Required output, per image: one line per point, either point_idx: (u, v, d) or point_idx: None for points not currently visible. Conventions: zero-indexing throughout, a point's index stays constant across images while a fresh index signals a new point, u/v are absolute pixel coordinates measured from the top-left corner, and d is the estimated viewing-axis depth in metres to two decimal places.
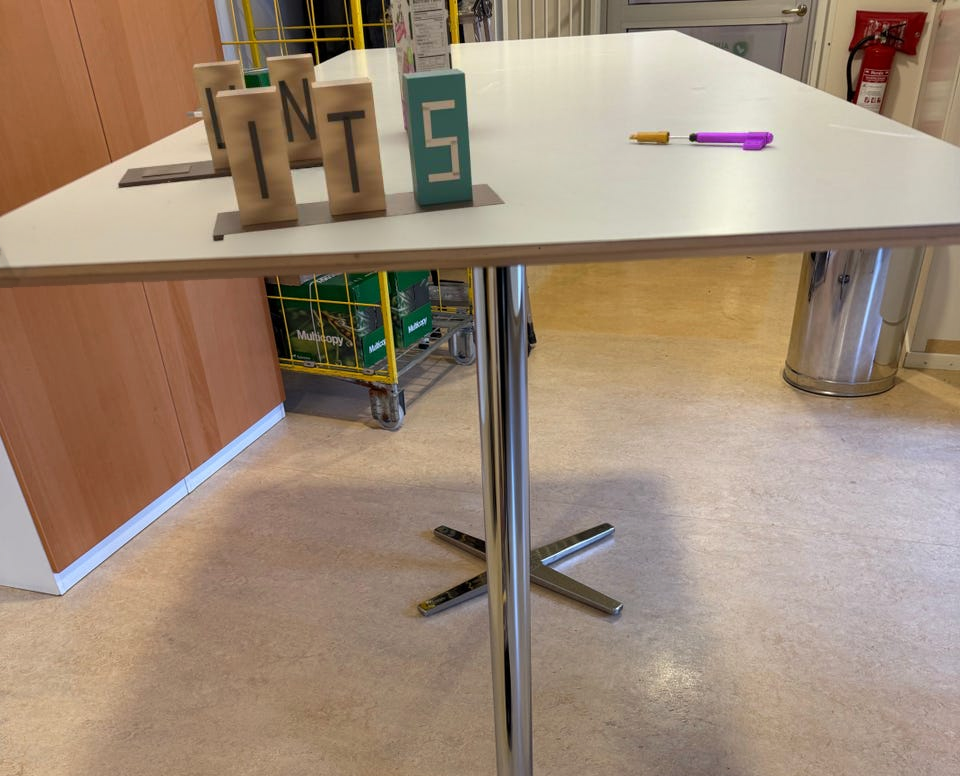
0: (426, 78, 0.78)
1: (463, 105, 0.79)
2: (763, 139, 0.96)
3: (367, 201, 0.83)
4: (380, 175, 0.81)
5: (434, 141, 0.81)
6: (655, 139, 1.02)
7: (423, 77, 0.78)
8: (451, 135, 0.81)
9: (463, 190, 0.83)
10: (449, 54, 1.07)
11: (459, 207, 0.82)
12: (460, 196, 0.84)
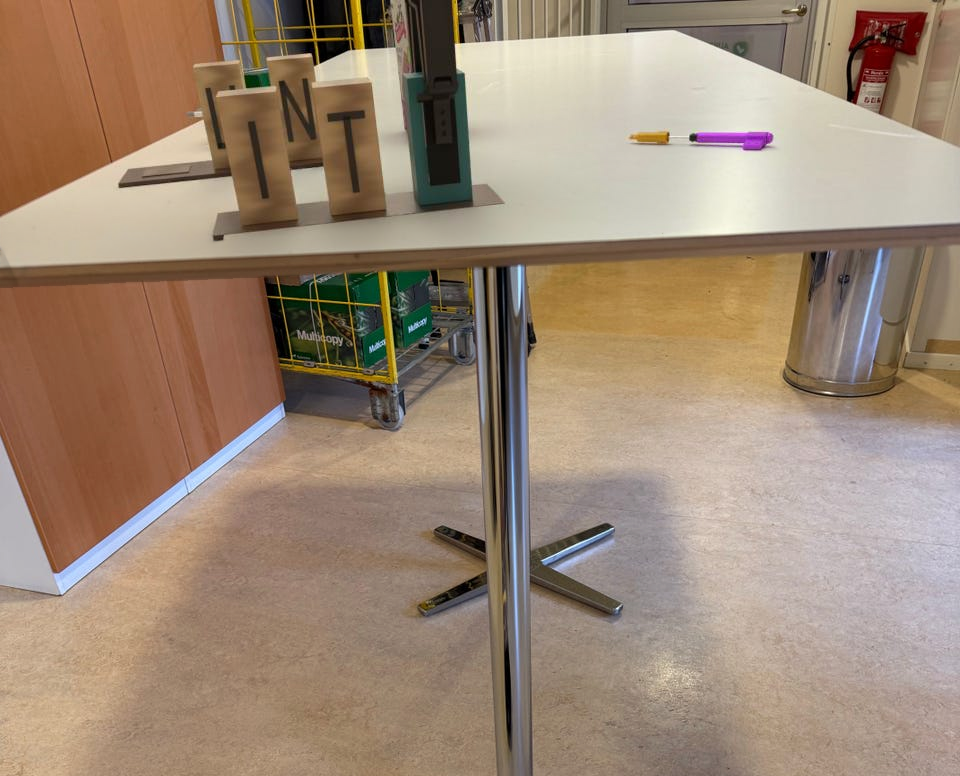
0: None
1: (463, 105, 0.79)
2: (763, 139, 0.96)
3: (367, 201, 0.83)
4: (380, 175, 0.81)
5: None
6: (654, 138, 1.02)
7: None
8: None
9: (463, 190, 0.83)
10: None
11: (459, 207, 0.82)
12: (460, 196, 0.84)
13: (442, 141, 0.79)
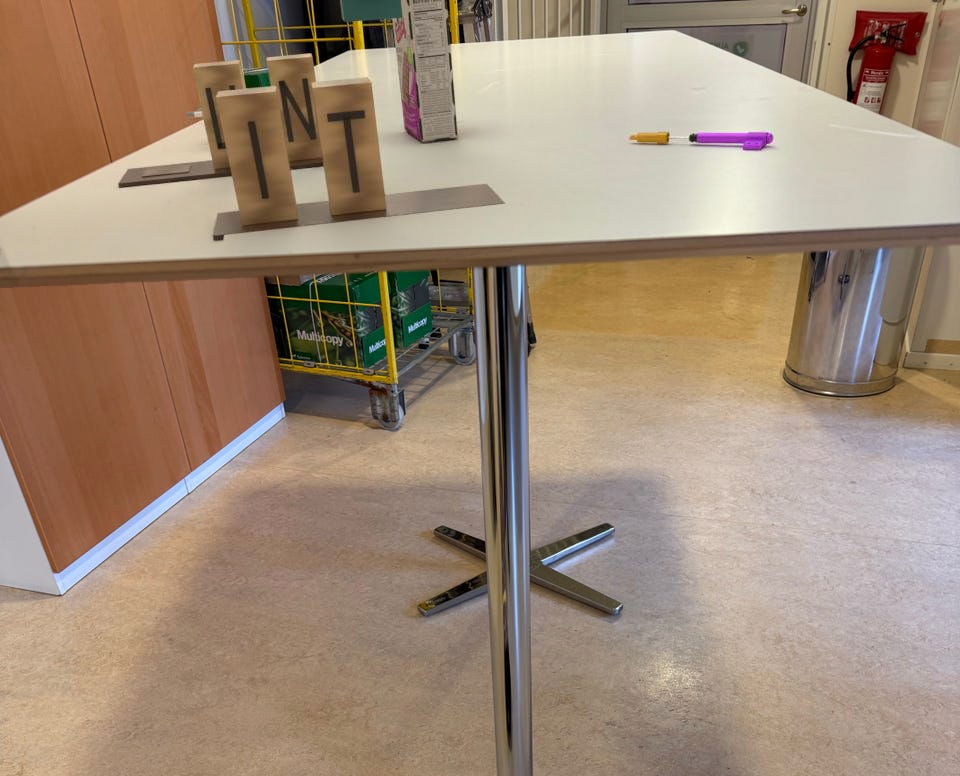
0: None
1: None
2: (763, 139, 0.96)
3: (367, 201, 0.83)
4: (380, 175, 0.81)
5: None
6: (654, 139, 1.02)
7: None
8: None
9: (392, 5, 0.78)
10: (449, 54, 1.07)
11: (459, 207, 0.82)
12: (388, 12, 0.78)
13: None
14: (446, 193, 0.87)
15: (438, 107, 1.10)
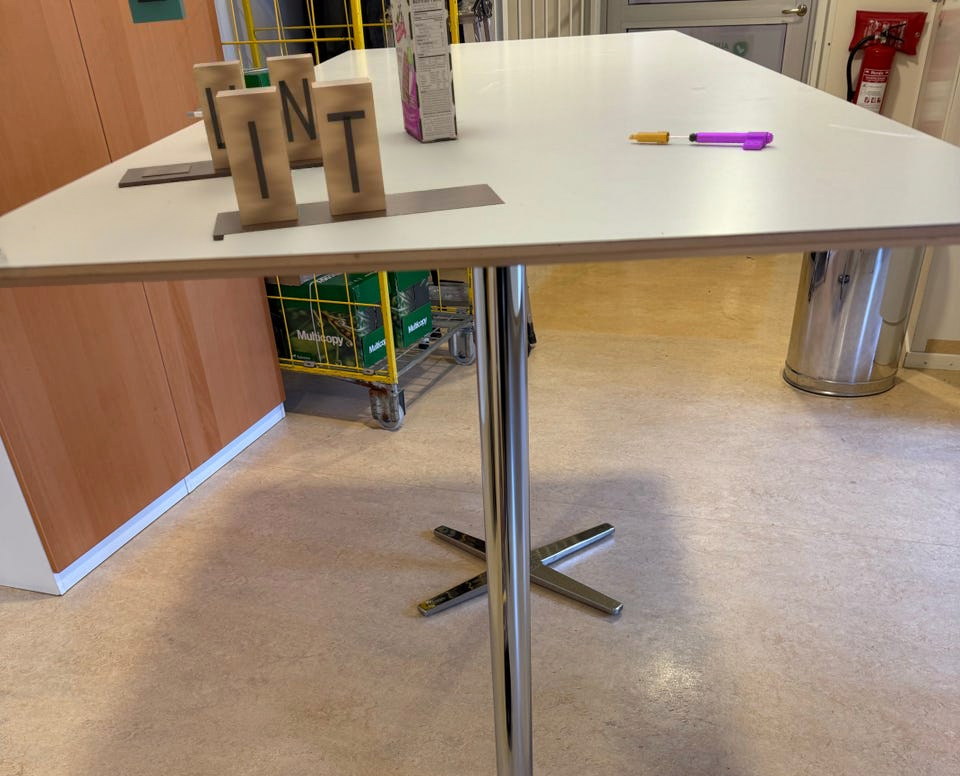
0: None
1: None
2: (763, 139, 0.96)
3: (367, 201, 0.83)
4: (380, 175, 0.81)
5: None
6: (654, 139, 1.02)
7: None
8: None
9: (173, 9, 0.93)
10: (449, 54, 1.07)
11: (459, 207, 0.82)
12: (170, 15, 0.93)
13: None
14: (446, 193, 0.87)
15: (438, 107, 1.10)
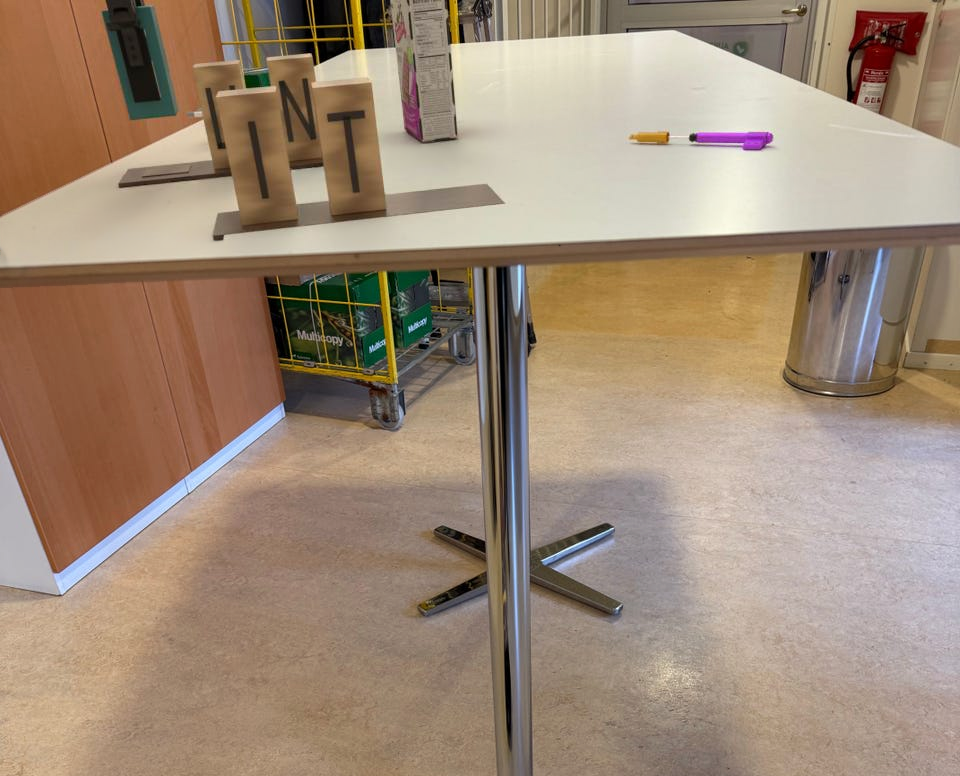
0: None
1: (153, 34, 0.97)
2: (763, 139, 0.96)
3: (367, 201, 0.83)
4: (380, 175, 0.81)
5: None
6: (654, 139, 1.02)
7: None
8: None
9: (166, 107, 1.01)
10: (449, 54, 1.07)
11: (459, 207, 0.82)
12: (164, 112, 1.01)
13: (135, 63, 0.97)
14: (446, 193, 0.87)
15: (438, 107, 1.10)
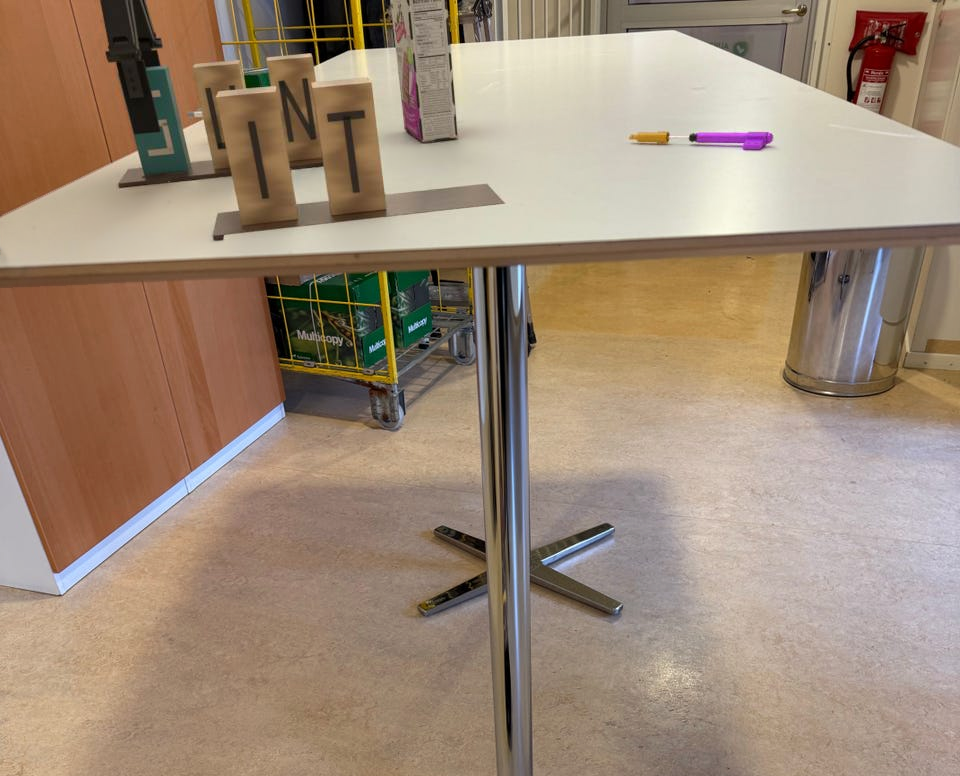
0: None
1: (167, 94, 1.00)
2: (763, 139, 0.96)
3: (367, 201, 0.83)
4: (380, 175, 0.81)
5: None
6: (654, 139, 1.02)
7: None
8: (161, 118, 1.01)
9: (179, 163, 1.04)
10: (449, 54, 1.07)
11: (459, 207, 0.82)
12: (177, 167, 1.04)
13: (134, 95, 0.94)
14: (446, 193, 0.87)
15: (438, 107, 1.10)
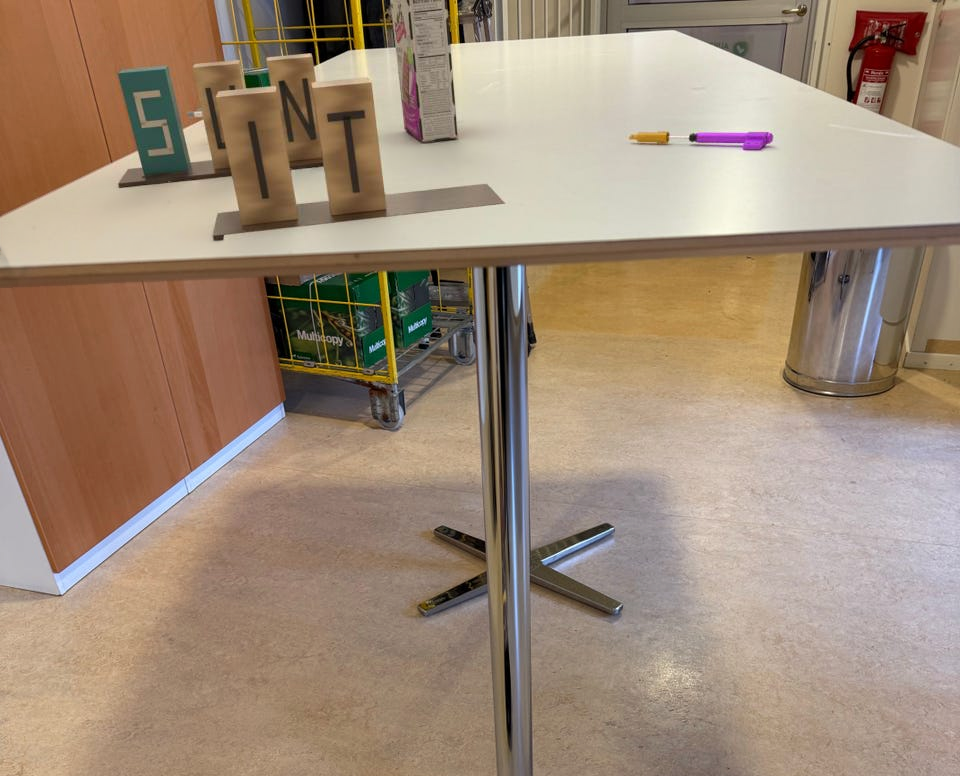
0: (133, 72, 0.99)
1: (167, 94, 1.00)
2: (763, 139, 0.96)
3: (367, 201, 0.83)
4: (380, 175, 0.81)
5: (148, 123, 1.01)
6: (654, 139, 1.02)
7: (131, 72, 0.99)
8: (161, 118, 1.01)
9: (179, 163, 1.04)
10: (449, 54, 1.07)
11: (459, 207, 0.82)
12: (177, 167, 1.04)
13: None
14: (446, 193, 0.87)
15: (438, 107, 1.10)
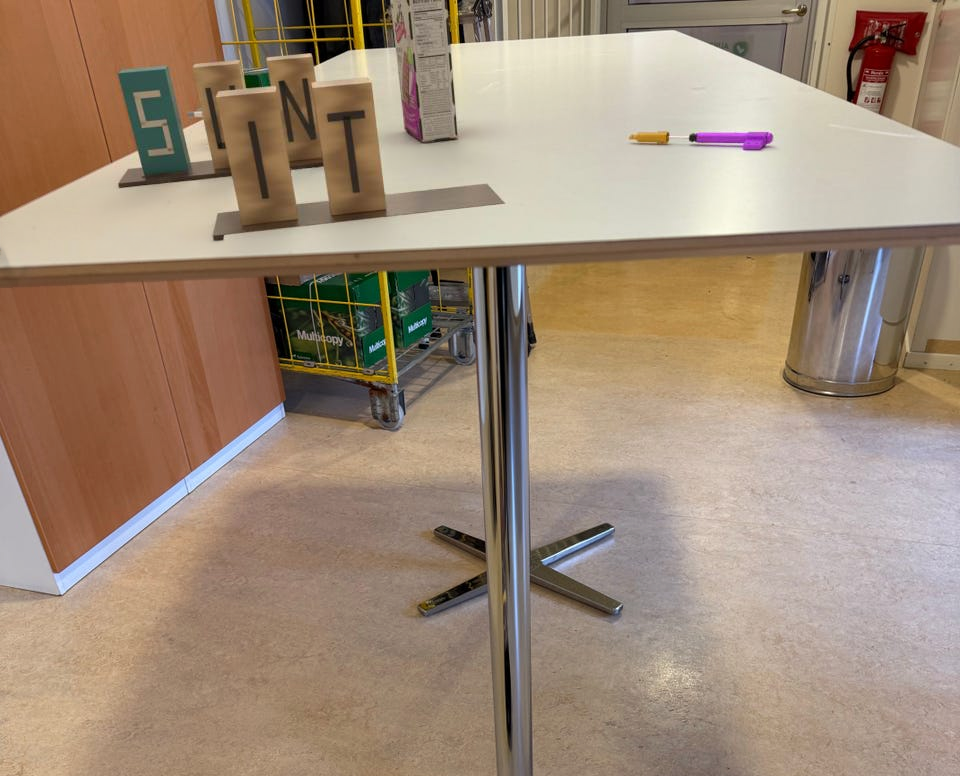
0: (133, 72, 0.99)
1: (167, 94, 1.00)
2: (763, 139, 0.96)
3: (367, 201, 0.83)
4: (380, 175, 0.81)
5: (148, 123, 1.01)
6: (654, 139, 1.02)
7: (131, 72, 0.99)
8: (161, 118, 1.01)
9: (179, 163, 1.04)
10: (449, 54, 1.07)
11: (459, 207, 0.82)
12: (177, 167, 1.04)
13: None
14: (446, 193, 0.87)
15: (438, 107, 1.10)
